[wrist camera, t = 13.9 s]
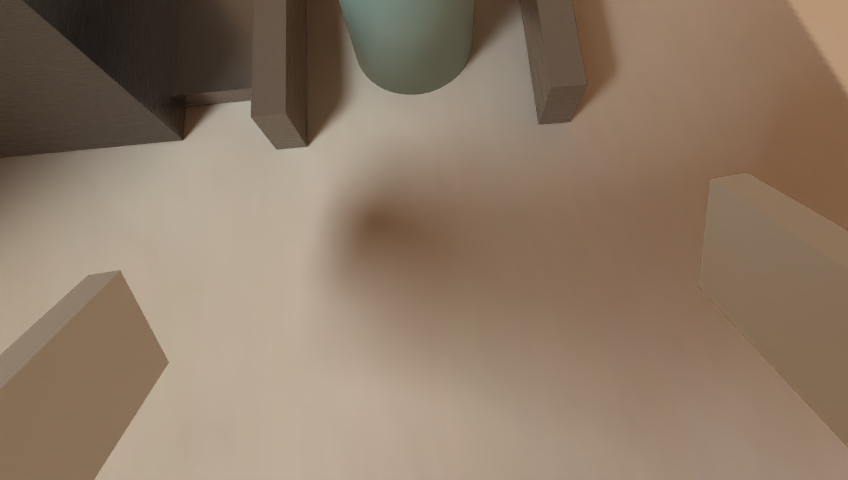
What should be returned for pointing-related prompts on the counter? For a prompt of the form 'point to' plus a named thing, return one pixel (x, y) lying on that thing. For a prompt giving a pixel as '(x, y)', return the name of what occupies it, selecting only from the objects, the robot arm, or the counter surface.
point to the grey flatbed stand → (197, 68)
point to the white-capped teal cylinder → (410, 41)
